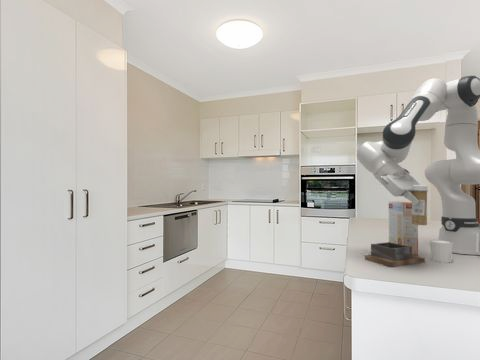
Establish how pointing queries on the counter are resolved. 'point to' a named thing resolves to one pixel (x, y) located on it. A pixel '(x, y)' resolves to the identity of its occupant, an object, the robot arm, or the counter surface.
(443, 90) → the robot arm
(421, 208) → the sprinkles bottle
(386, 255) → the stand
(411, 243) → the cracker box
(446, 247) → the white cup
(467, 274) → the counter surface
